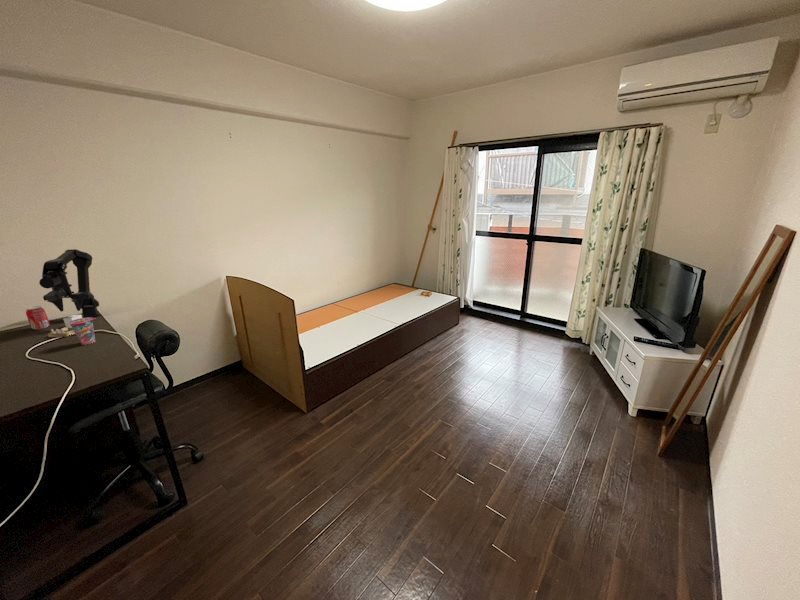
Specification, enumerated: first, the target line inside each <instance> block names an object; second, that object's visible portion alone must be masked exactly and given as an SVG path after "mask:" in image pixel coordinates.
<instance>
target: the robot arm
mask: <svg viewBox="0 0 800 600" xmlns="http://www.w3.org/2000/svg"><path fill="white" fill-rule="evenodd" d="M92 261H93V257H92V255H91V254H90V253H87V252H84V251H80V249H77V248H73V249H65V250H64V252H63V253H62V254H61V255H59V256H57V257H56V258H54V259H49V260H46V261H45V262H44V264H43V266H42V273H41V275H42V276H41V277H42V278H40V280H39V285H40V287H42V288H44V289H51V291H49V292H48V293H46V294H44V295H43V296H42V298H43V301H45V302H48V303H51V304H53V305H54V306H55V307H56V308H57V309H58V310H59V311H60V312H64V303H63V299H70V302H72V303H74V306H75V308H76V311H78V312H79V311H81V312H82V318H87V317H92V318H97V317H99V316H102V313H99V311H98V308H97V307H99V306H100V301H98V299H96V298H95V296H94V294H93V293H92V292H91V290H90V276H89V275H90V273H89V269H90V267H91V266H92ZM70 262H72V264H73V265H74V266H75V267H76V272H77V275H76V276H77V289H78V291H77V292H75V291H72V289H71V287H72V286H73V285H72V284H69V281H68V278H67V275H68V272H67V271H66V269H67V268H68V266H67V265H68V264H69V263H70Z"/></svg>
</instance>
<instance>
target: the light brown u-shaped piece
mask: <svg viewBox="0 0 800 600" xmlns="http://www.w3.org/2000/svg"><path fill="white" fill-rule="evenodd" d="M73 333H75V332H74V330H73V329H71V330H69V328H67V327H66V326H65V327H62V328H60V329H59V328H56V329H55V330H54V329H53V328H51V329H50V332H49V333H47V336H48V338H60V337H61V338H62V337H63V336H64V337H70V336H72V335H74V334H73ZM71 334H72V335H71ZM69 335H70V336H69ZM64 337H63V338H64Z"/></svg>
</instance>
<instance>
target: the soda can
mask: <svg viewBox="0 0 800 600" xmlns="http://www.w3.org/2000/svg"><path fill="white" fill-rule="evenodd" d="M25 315H26V317H27V320H28V322H29V325H30V327H31V329H32V330H43V329H47V328H48V327H50V321H49V319H48V316H47V313H46V311H45V308H43V307H42V306H41V305H38V306H32V307H31V306H30V307H27V308H25Z"/></svg>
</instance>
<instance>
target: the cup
mask: <svg viewBox="0 0 800 600" xmlns="http://www.w3.org/2000/svg"><path fill="white" fill-rule="evenodd" d="M96 319H97V317H94V318H92V317H87V318H83V317H82V318H80V319H75V320H72V321H70V322H69V324H70V325H71V326H72V328H71V329H72V330H74V332H75V334H74V335H75V336H76V338H77V339H78V341H79V343H80V345H81V346H87V344H88V345H91V343H92V344H94V343H96V336H95V328H94V323H93V320H96ZM93 342H94V343H93Z"/></svg>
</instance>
